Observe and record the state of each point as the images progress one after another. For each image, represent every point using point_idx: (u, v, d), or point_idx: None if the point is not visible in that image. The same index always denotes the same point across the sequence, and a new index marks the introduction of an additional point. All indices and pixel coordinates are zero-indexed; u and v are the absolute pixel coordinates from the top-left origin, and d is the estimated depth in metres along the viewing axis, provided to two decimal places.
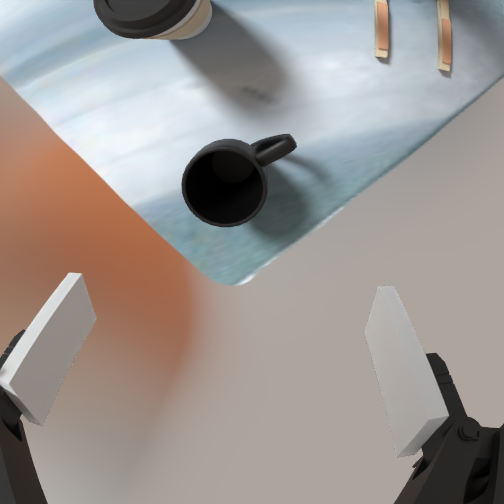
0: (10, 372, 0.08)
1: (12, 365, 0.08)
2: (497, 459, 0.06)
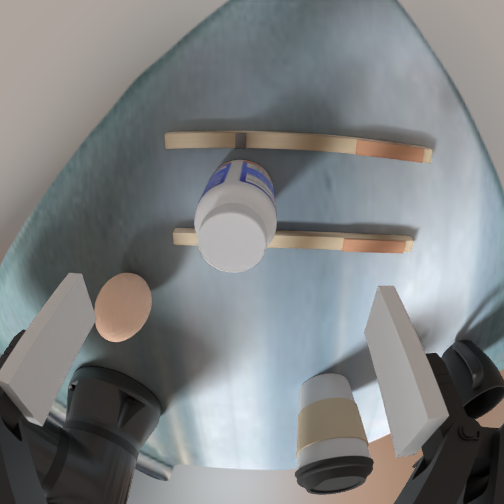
0: (10, 372, 0.08)
1: (12, 365, 0.08)
2: (497, 459, 0.06)
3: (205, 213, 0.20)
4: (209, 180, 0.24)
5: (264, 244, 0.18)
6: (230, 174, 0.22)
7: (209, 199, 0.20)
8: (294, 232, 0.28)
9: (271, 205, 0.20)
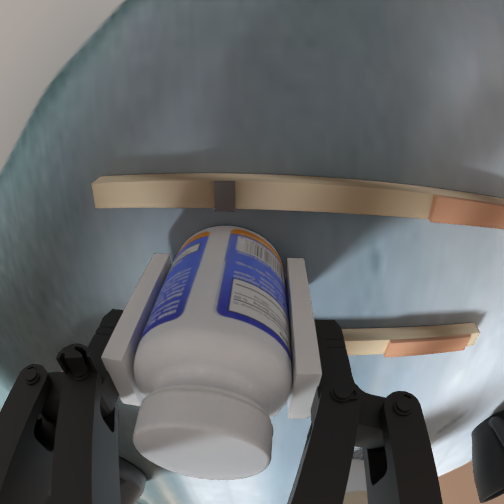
0: (119, 349, 0.10)
1: (120, 342, 0.10)
2: (388, 437, 0.07)
3: (149, 378, 0.09)
4: (170, 268, 0.14)
5: (266, 462, 0.08)
6: (199, 281, 0.11)
7: (153, 356, 0.09)
8: None
9: (283, 363, 0.09)
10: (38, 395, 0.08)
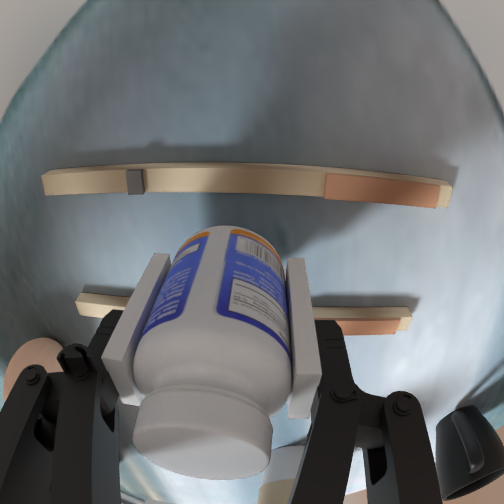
0: (119, 349, 0.10)
1: (120, 342, 0.10)
2: (388, 437, 0.07)
3: (148, 378, 0.09)
4: None
5: (266, 462, 0.08)
6: (199, 281, 0.11)
7: (152, 356, 0.09)
8: None
9: (283, 363, 0.09)
10: (38, 395, 0.08)
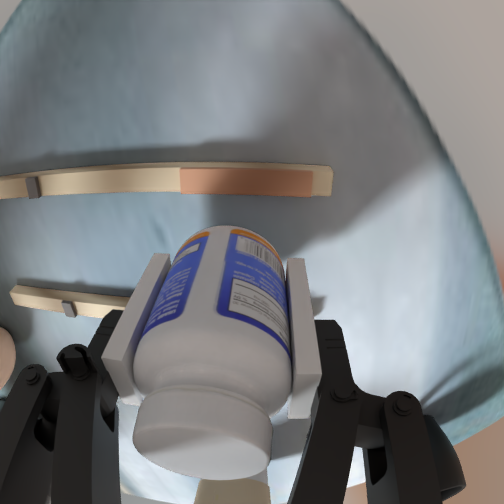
0: (120, 349, 0.10)
1: (120, 342, 0.10)
2: (388, 437, 0.07)
3: (148, 378, 0.09)
4: (170, 268, 0.14)
5: (266, 462, 0.08)
6: (199, 281, 0.11)
7: (152, 356, 0.09)
8: None
9: (283, 363, 0.09)
10: (38, 395, 0.08)
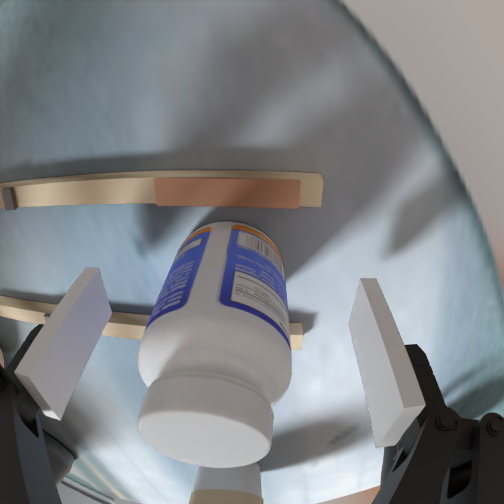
0: (30, 365, 0.08)
1: (32, 358, 0.09)
2: (478, 452, 0.06)
3: (153, 367, 0.09)
4: (173, 263, 0.14)
5: (267, 448, 0.08)
6: (202, 273, 0.11)
7: (157, 344, 0.09)
8: (112, 315, 0.18)
9: (283, 352, 0.10)
10: None
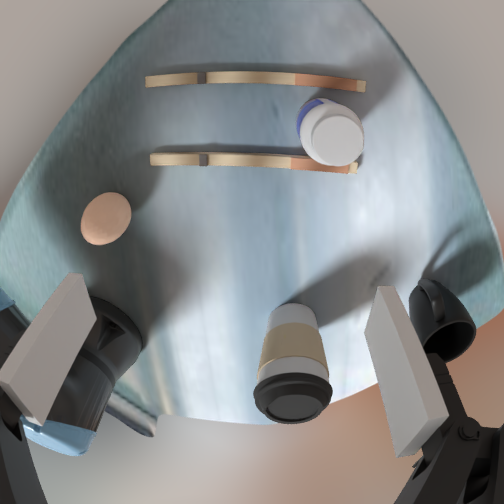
0: (10, 372, 0.08)
1: (12, 365, 0.08)
2: (497, 459, 0.06)
3: (313, 122, 0.24)
4: (301, 110, 0.28)
5: (362, 143, 0.22)
6: (324, 101, 0.25)
7: (316, 112, 0.23)
8: (248, 153, 0.33)
9: (360, 122, 0.24)
10: None
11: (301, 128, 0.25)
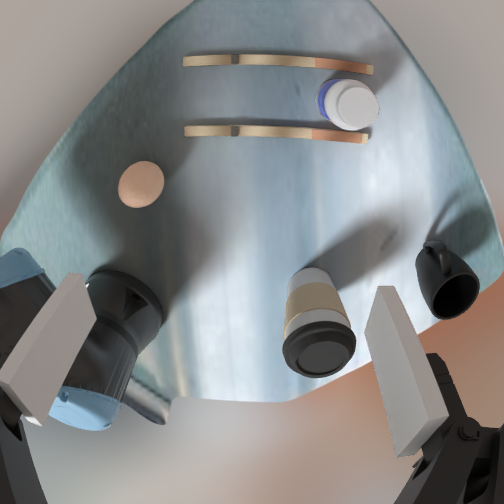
0: (10, 372, 0.08)
1: (12, 365, 0.08)
2: (497, 459, 0.06)
3: (336, 93, 0.28)
4: (321, 88, 0.32)
5: (378, 109, 0.26)
6: (342, 79, 0.29)
7: (339, 85, 0.27)
8: (274, 126, 0.36)
9: None
10: None
11: (326, 99, 0.28)
